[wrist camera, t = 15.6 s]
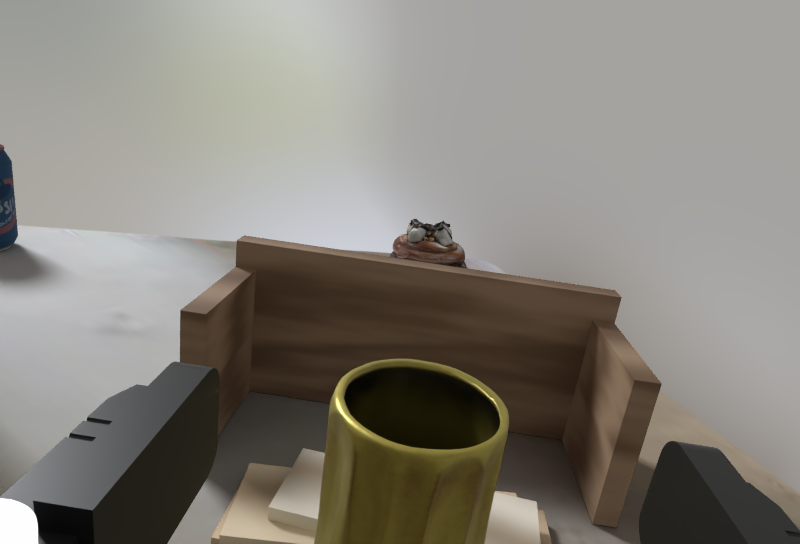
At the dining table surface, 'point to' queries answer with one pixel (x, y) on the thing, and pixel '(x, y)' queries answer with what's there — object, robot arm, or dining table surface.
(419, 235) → the cupcake
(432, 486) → the vase
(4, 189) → the soda can
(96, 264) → the dining table surface
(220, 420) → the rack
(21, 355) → the dining table surface
